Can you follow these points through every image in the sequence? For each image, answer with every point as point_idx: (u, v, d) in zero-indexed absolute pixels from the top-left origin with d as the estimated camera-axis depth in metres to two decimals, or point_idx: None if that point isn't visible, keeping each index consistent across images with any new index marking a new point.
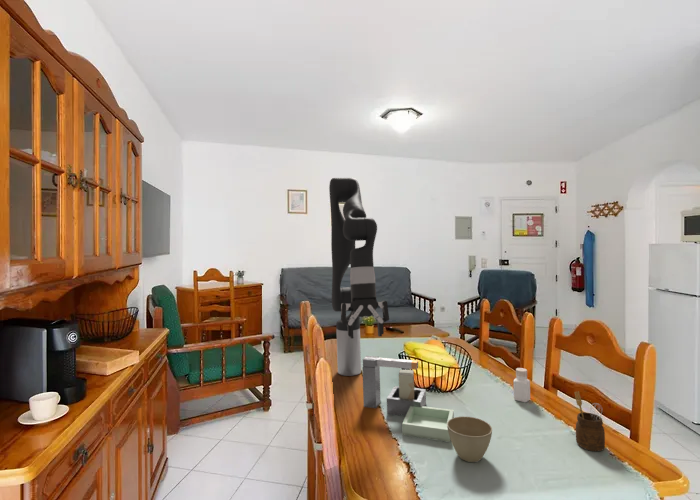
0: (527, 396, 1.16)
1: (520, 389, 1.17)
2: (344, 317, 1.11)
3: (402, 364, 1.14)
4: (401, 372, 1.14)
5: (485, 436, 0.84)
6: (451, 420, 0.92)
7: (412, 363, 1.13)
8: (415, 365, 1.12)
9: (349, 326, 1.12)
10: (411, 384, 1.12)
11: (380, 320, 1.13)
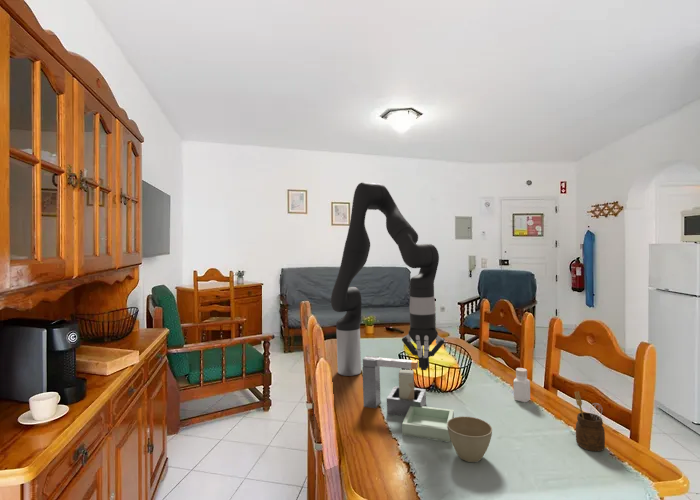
0: (527, 396, 1.16)
1: (520, 389, 1.17)
2: (411, 349, 1.13)
3: (402, 364, 1.14)
4: (401, 372, 1.14)
5: (485, 436, 0.84)
6: (451, 420, 0.92)
7: (412, 363, 1.13)
8: (415, 365, 1.12)
9: (419, 358, 1.12)
10: (411, 384, 1.12)
11: (424, 354, 1.11)
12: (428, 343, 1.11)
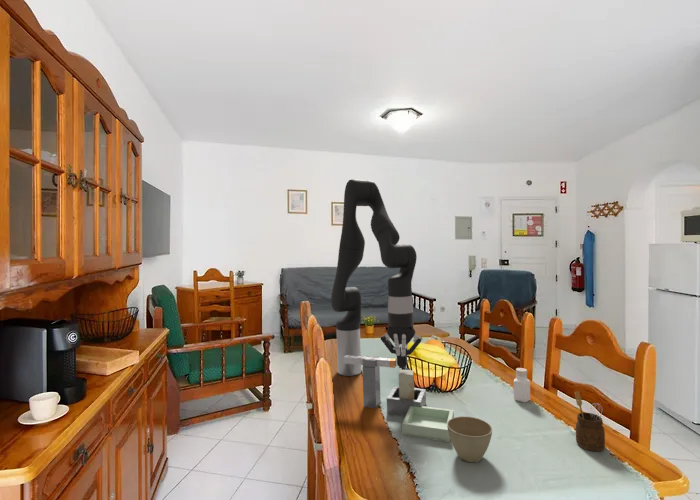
0: (527, 396, 1.16)
1: (520, 389, 1.17)
2: (390, 347, 1.15)
3: (381, 363, 1.16)
4: (401, 372, 1.14)
5: (485, 436, 0.84)
6: (451, 420, 0.92)
7: (390, 361, 1.15)
8: (393, 363, 1.15)
9: (398, 356, 1.15)
10: (411, 384, 1.12)
11: (402, 353, 1.14)
12: (406, 341, 1.13)
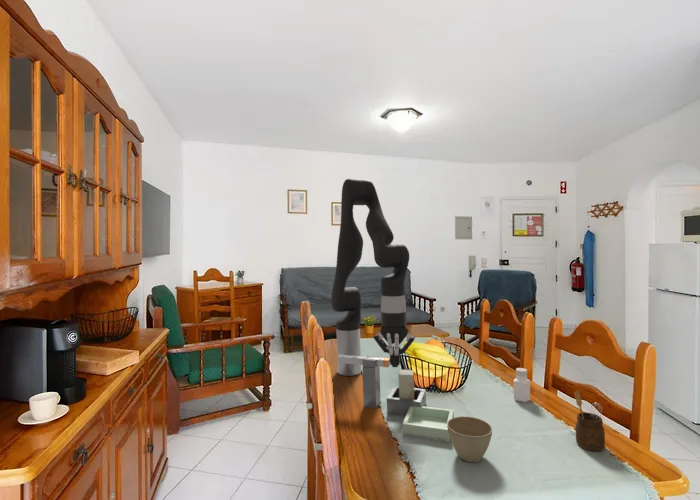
0: (527, 396, 1.16)
1: (520, 389, 1.17)
2: (383, 347, 1.16)
3: None
4: (401, 372, 1.14)
5: (485, 436, 0.84)
6: (451, 420, 0.92)
7: (384, 361, 1.16)
8: (386, 363, 1.15)
9: (391, 355, 1.15)
10: (411, 384, 1.12)
11: (395, 352, 1.14)
12: (398, 341, 1.14)
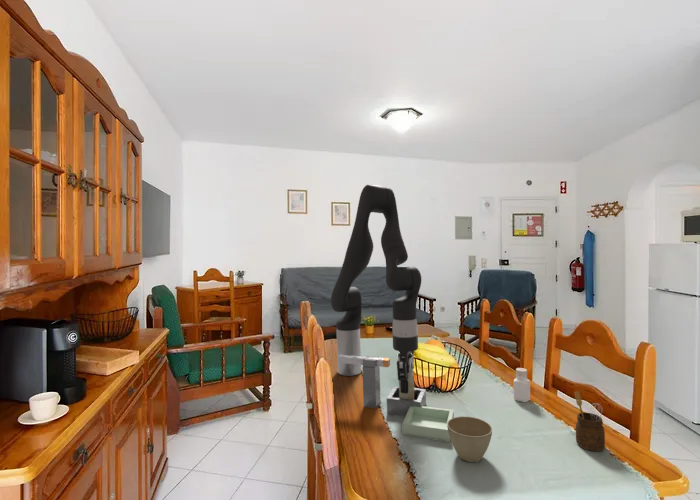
0: (527, 396, 1.16)
1: (520, 389, 1.17)
2: None
3: None
4: None
5: (485, 436, 0.84)
6: (451, 420, 0.92)
7: (383, 361, 1.16)
8: (386, 363, 1.15)
9: None
10: (411, 384, 1.12)
11: None
12: None
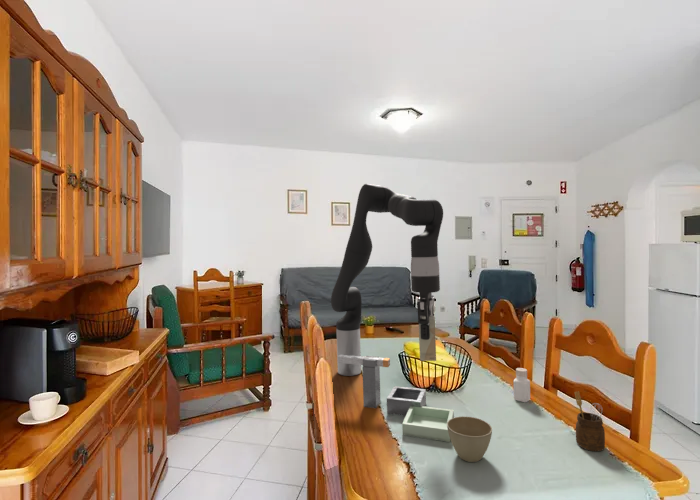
0: (527, 396, 1.16)
1: (520, 389, 1.17)
2: None
3: None
4: None
5: (485, 436, 0.84)
6: (451, 420, 0.92)
7: (383, 361, 1.16)
8: (386, 363, 1.15)
9: None
10: (433, 329, 0.99)
11: None
12: None
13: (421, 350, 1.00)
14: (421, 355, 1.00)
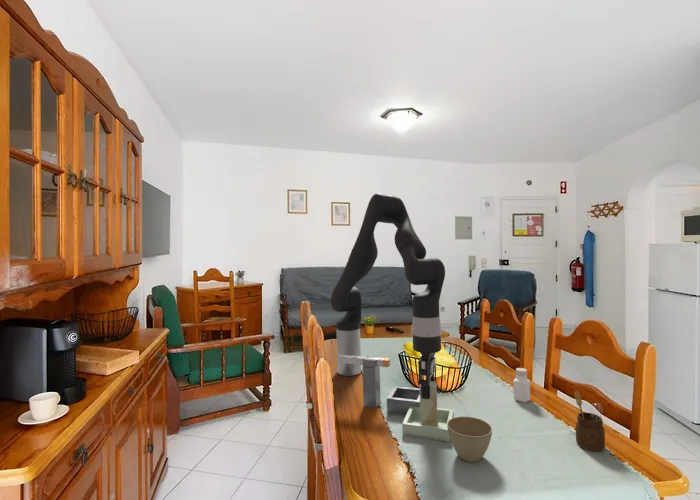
0: (527, 396, 1.16)
1: (520, 389, 1.17)
2: None
3: None
4: None
5: (485, 436, 0.84)
6: (451, 420, 0.92)
7: (383, 361, 1.16)
8: (386, 363, 1.15)
9: None
10: (433, 397, 1.00)
11: None
12: None
13: (422, 417, 1.01)
14: (421, 422, 1.01)
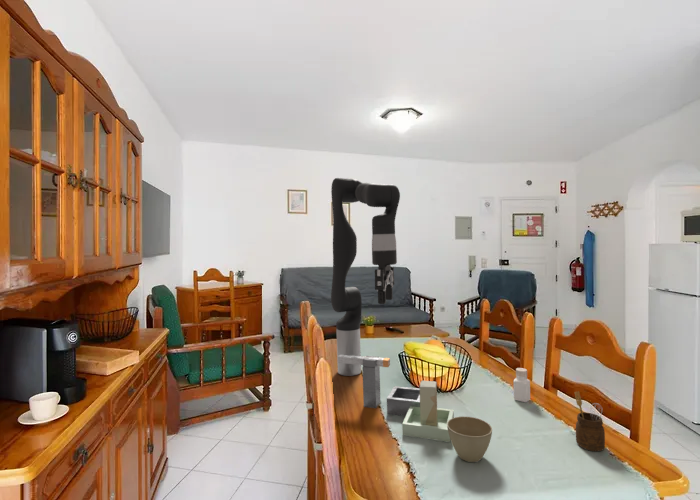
0: (527, 396, 1.16)
1: (520, 389, 1.17)
2: None
3: None
4: (422, 384, 1.03)
5: (485, 436, 0.84)
6: (451, 420, 0.92)
7: (383, 361, 1.16)
8: (386, 363, 1.15)
9: None
10: (433, 397, 1.00)
11: None
12: None
13: (422, 417, 1.01)
14: (421, 422, 1.01)
